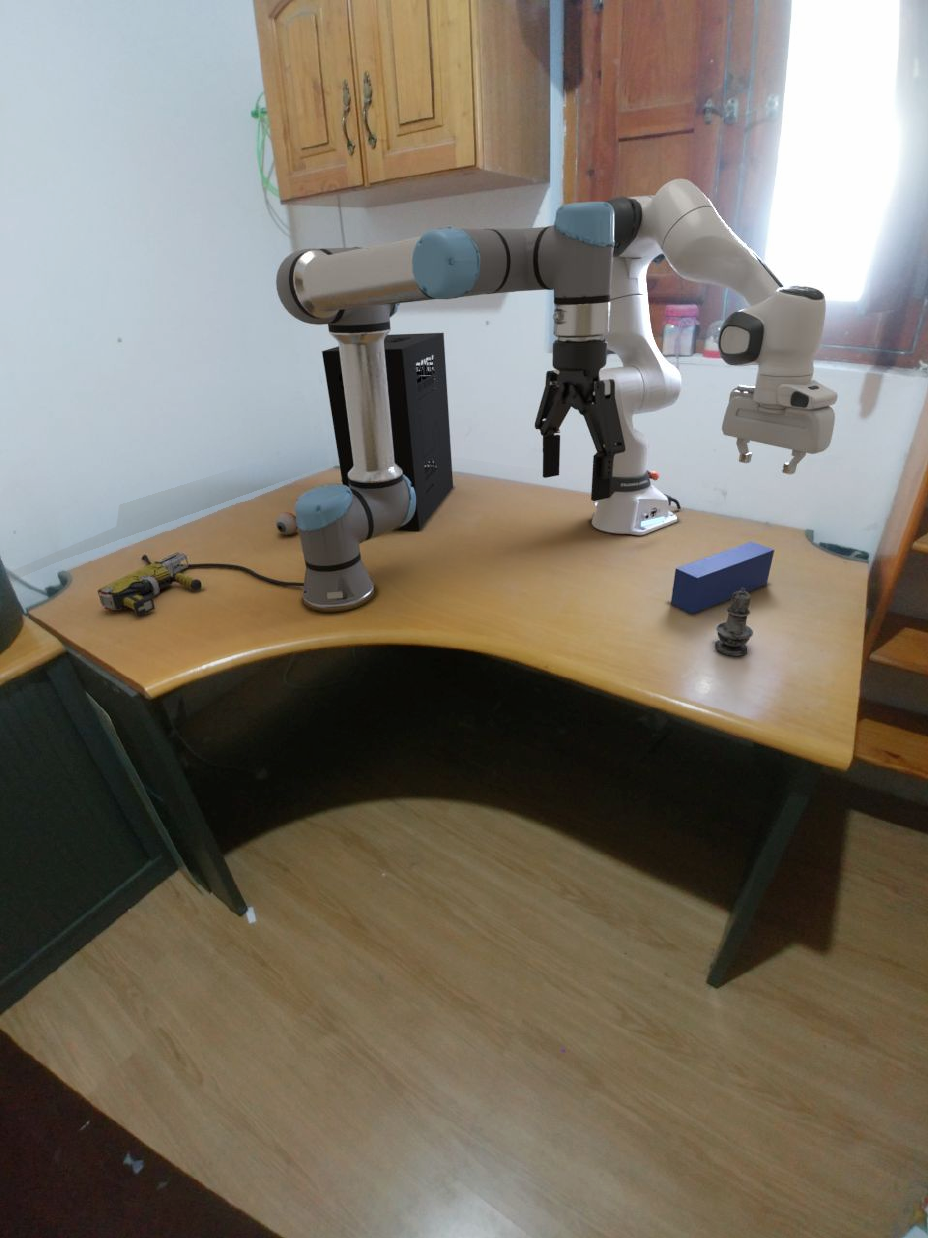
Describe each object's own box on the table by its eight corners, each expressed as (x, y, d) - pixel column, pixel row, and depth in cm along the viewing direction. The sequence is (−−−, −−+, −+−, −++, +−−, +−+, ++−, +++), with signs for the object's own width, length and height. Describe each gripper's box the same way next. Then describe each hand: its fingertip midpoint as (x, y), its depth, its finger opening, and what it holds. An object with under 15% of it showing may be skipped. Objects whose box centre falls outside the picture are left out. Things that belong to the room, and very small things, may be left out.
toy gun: (225, 560, 144) (174, 549, 148) (148, 603, 124) (91, 589, 127) (228, 578, 146) (177, 567, 150) (152, 623, 126) (96, 609, 130)
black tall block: (419, 530, 162) (402, 348, 140) (349, 527, 167) (321, 351, 144) (453, 486, 194) (443, 332, 171) (393, 485, 198) (376, 334, 176)
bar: (744, 575, 130) (751, 541, 126) (766, 584, 126) (774, 549, 122) (670, 603, 121) (675, 568, 117) (691, 614, 117) (697, 578, 113)
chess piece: (752, 657, 103) (766, 595, 97) (715, 655, 104) (727, 594, 98) (745, 639, 108) (758, 579, 102) (711, 637, 109) (721, 578, 103)
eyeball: (273, 537, 164) (268, 516, 161) (287, 528, 169) (282, 508, 166) (291, 539, 161) (286, 518, 158) (305, 530, 166) (301, 510, 163)
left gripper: (513, 334, 92) (514, 471, 103) (613, 347, 72) (602, 515, 83) (554, 330, 95) (552, 464, 105) (663, 341, 75) (645, 505, 85)
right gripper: (720, 385, 114) (709, 459, 121) (824, 400, 98) (804, 483, 105) (743, 381, 116) (731, 453, 123) (847, 395, 101) (827, 476, 108)
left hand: (574, 487), depth 94 cm, fingers open, 13 cm apart
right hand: (765, 467), depth 114 cm, fingers open, 8 cm apart
